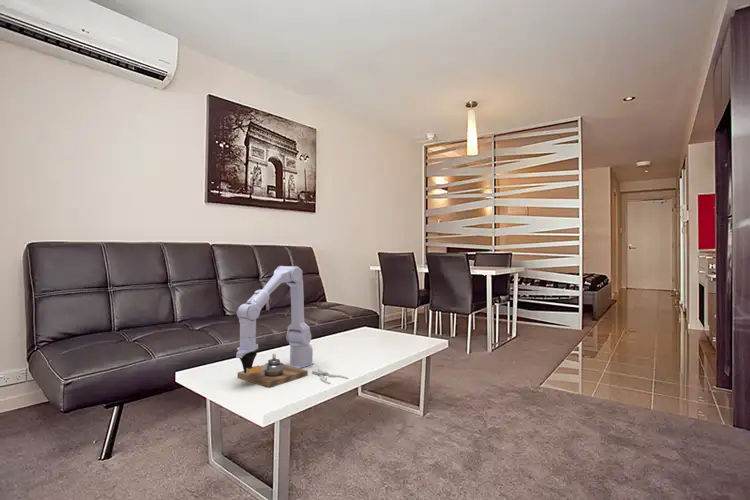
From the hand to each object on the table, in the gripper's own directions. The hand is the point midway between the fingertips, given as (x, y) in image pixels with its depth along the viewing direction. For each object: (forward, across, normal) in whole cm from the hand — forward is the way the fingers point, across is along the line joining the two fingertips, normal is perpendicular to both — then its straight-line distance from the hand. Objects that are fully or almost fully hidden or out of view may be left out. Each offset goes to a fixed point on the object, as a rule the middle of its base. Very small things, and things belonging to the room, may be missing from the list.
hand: (247, 372), depth 151 cm
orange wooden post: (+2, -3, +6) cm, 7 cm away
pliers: (+4, -12, +27) cm, 30 cm away
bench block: (+4, -9, +6) cm, 12 cm away
